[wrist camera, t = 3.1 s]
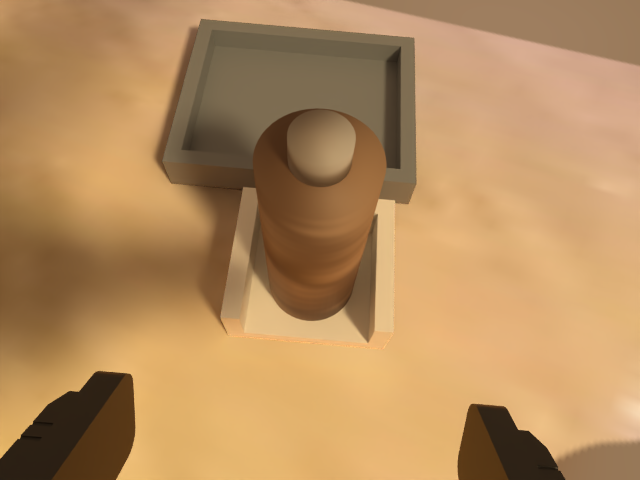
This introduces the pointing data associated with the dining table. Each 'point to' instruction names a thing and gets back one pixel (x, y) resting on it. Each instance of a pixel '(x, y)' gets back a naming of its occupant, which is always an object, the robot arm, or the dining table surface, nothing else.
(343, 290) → the pepper mill
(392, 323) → the caddy slot
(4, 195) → the dining table surface
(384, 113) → the serving tray
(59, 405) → the robot arm
